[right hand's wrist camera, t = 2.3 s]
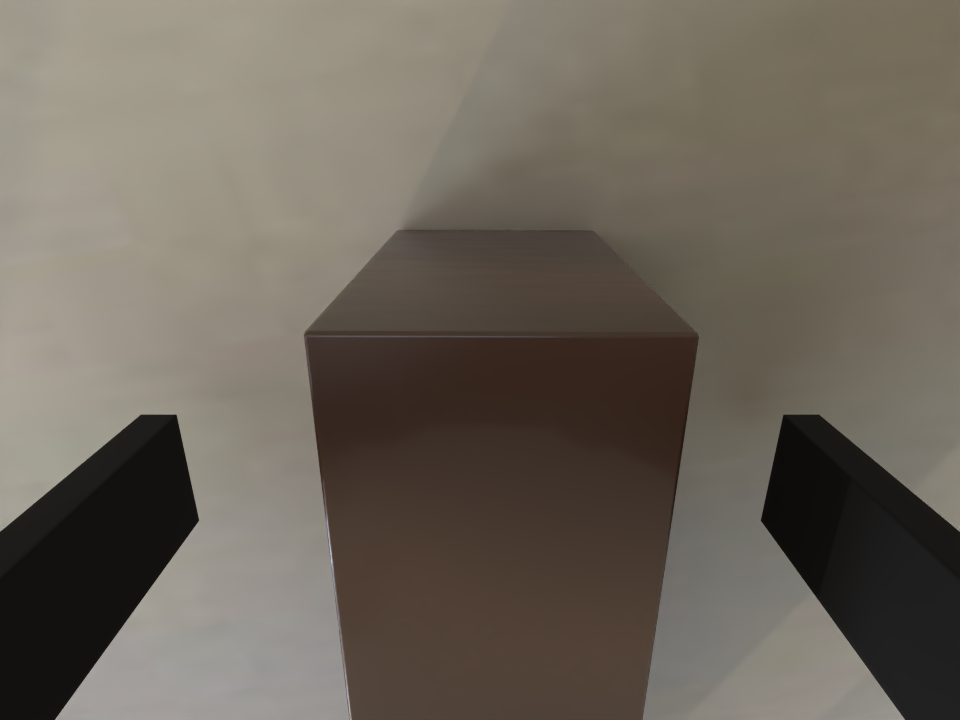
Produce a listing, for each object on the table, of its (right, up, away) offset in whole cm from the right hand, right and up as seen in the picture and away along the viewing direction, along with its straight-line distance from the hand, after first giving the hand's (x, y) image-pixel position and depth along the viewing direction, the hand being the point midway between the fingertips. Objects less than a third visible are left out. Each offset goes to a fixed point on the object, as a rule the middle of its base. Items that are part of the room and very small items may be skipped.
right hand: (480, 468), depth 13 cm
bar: (0, -6, +7) cm, 9 cm away
